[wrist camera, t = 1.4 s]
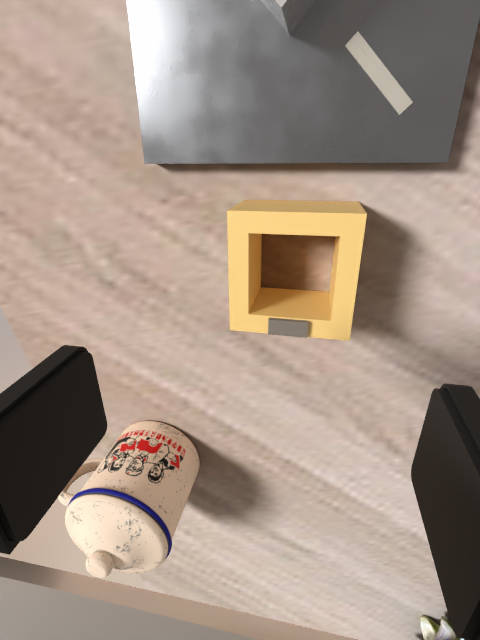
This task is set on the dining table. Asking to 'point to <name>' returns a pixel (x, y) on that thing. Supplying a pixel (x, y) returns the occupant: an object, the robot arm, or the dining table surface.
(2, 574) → the robot arm
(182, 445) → the teacup with lid
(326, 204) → the collar
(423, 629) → the passion flower
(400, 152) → the post plate
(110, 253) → the dining table surface
